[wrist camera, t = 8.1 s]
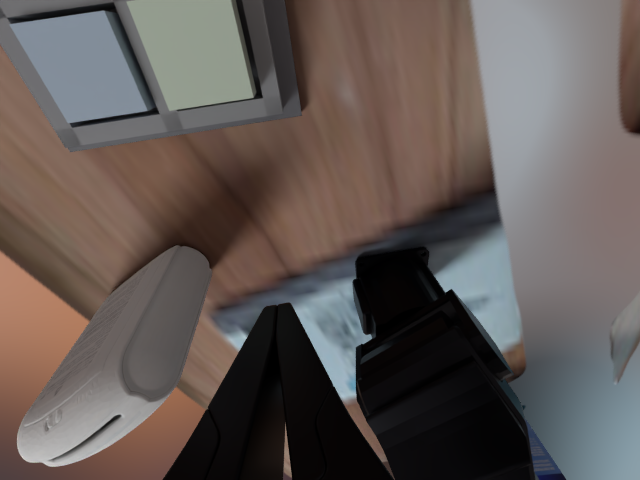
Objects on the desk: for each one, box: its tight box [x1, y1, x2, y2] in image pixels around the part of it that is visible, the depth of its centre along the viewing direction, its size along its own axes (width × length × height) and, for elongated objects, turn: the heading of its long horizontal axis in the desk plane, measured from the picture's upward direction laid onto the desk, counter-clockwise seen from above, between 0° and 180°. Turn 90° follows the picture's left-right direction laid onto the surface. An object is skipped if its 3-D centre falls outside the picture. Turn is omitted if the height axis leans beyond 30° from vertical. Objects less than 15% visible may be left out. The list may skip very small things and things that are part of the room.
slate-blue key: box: [9, 11, 157, 123], centre depth 14 cm, size 4×4×2 cm
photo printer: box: [17, 245, 212, 467], centre depth 19 cm, size 10×4×12 cm, turn 126°
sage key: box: [127, 0, 256, 111], centre depth 13 cm, size 4×4×2 cm
